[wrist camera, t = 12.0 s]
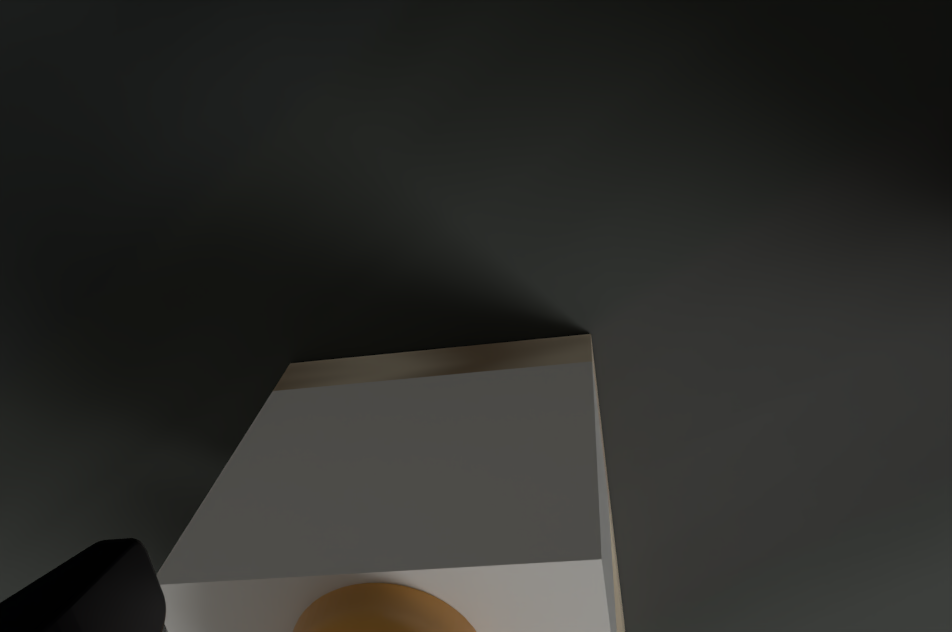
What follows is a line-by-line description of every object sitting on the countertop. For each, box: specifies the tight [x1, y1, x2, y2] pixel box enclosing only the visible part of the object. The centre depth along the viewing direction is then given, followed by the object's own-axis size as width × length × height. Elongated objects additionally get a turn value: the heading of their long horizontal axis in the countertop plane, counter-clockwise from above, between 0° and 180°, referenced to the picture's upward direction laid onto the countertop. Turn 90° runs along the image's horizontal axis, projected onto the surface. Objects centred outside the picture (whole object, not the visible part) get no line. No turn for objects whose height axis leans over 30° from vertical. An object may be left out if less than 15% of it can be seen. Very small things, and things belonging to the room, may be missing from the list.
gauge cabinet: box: [156, 361, 617, 632], centre depth 19 cm, size 8×5×7 cm, turn 99°
